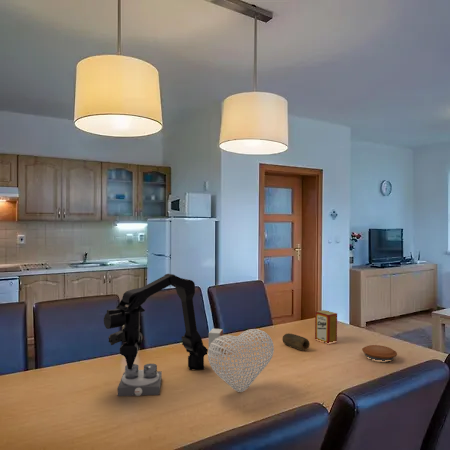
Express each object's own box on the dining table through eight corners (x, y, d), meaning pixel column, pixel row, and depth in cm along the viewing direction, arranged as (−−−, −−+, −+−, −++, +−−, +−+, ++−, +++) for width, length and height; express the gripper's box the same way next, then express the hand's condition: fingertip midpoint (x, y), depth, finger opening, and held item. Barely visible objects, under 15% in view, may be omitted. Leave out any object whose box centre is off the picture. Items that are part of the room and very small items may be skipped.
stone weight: (311, 350, 199) (311, 337, 199) (302, 353, 195) (302, 339, 195) (289, 342, 211) (289, 330, 211) (280, 345, 207) (280, 332, 207)
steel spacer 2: (157, 373, 156) (157, 363, 156) (156, 378, 151) (156, 368, 151) (144, 373, 155) (144, 363, 155) (142, 378, 150) (143, 368, 150)
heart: (226, 410, 134) (226, 345, 134) (198, 394, 146) (199, 334, 146) (281, 388, 152) (282, 331, 152) (253, 376, 164) (254, 322, 164)
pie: (361, 361, 184) (361, 350, 184) (362, 351, 198) (363, 341, 198) (397, 366, 178) (397, 355, 178) (396, 355, 193) (396, 345, 193)
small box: (219, 355, 190) (219, 333, 190) (208, 354, 191) (208, 332, 191) (222, 349, 198) (223, 328, 198) (212, 349, 199) (212, 328, 199)
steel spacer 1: (139, 374, 155) (139, 363, 155) (137, 379, 150) (137, 368, 150) (125, 374, 154) (126, 364, 154) (124, 379, 149) (124, 368, 149)
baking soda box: (336, 342, 212) (337, 312, 212) (328, 344, 209) (328, 314, 209) (323, 338, 220) (323, 309, 220) (315, 339, 217) (315, 310, 217)
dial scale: (161, 378, 161) (161, 368, 161) (159, 395, 145) (159, 384, 145) (123, 379, 159) (123, 369, 159) (117, 396, 144) (117, 385, 143)
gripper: (114, 318, 160) (114, 357, 160) (105, 331, 142) (104, 374, 142) (142, 318, 161) (142, 356, 162) (137, 330, 143) (136, 374, 143)
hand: (131, 364), depth 152 cm, fingers open, 9 cm apart
